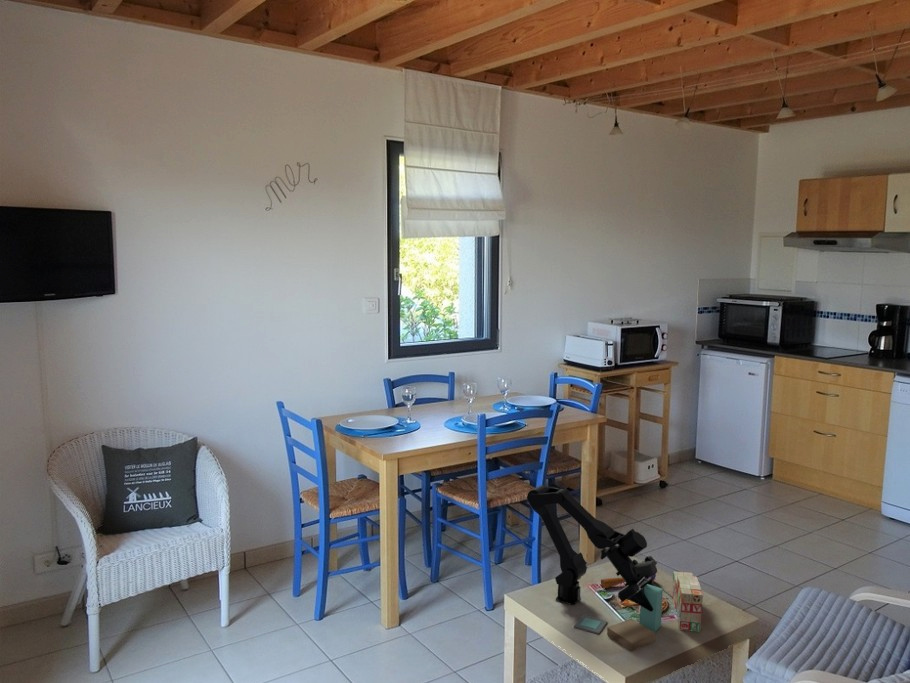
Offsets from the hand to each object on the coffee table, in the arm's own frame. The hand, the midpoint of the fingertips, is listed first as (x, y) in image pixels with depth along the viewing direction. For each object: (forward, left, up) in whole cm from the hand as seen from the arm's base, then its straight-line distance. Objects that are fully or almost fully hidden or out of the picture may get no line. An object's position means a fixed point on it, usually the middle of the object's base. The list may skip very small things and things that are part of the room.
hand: (655, 607), depth 222 cm
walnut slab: (-4, -10, -7) cm, 13 cm away
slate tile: (-17, -9, -7) cm, 21 cm away
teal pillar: (-1, 0, -7) cm, 7 cm away
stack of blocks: (+6, +14, -7) cm, 17 cm away
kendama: (-15, +24, -7) cm, 29 cm away
